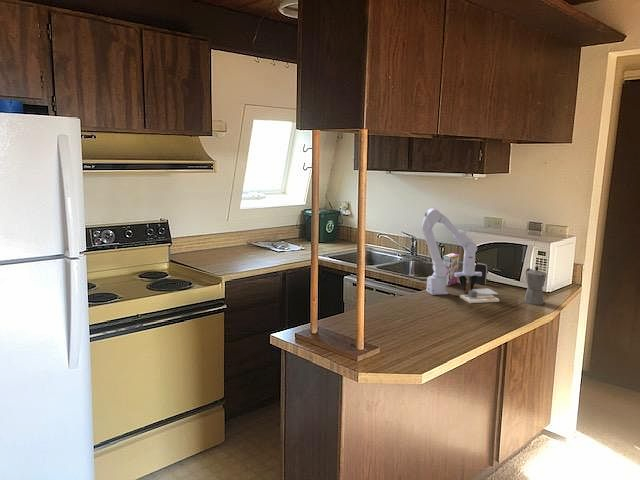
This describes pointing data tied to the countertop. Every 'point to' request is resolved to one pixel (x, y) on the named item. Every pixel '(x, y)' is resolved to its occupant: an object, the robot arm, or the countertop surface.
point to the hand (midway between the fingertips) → (467, 289)
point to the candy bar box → (451, 267)
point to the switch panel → (480, 298)
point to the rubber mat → (485, 291)
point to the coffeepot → (534, 286)
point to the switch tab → (472, 293)
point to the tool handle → (467, 288)
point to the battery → (484, 269)
